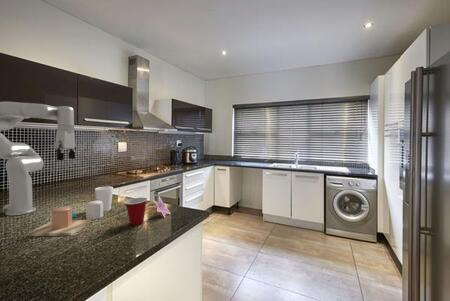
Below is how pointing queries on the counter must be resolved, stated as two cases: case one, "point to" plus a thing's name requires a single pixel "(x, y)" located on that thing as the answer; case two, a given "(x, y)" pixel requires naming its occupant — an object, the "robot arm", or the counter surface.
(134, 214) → the plastic cup
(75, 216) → the marble
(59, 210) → the pink acorn nut
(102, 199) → the foam cup
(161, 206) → the lily
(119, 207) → the counter surface
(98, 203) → the white domed cap nut
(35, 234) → the oak board
